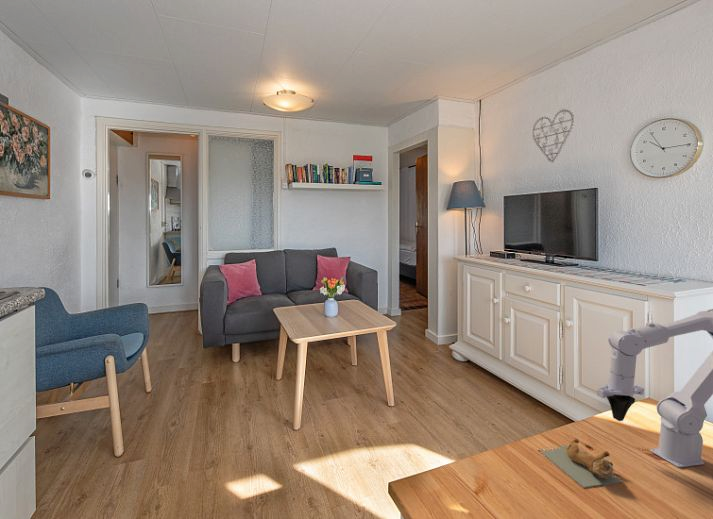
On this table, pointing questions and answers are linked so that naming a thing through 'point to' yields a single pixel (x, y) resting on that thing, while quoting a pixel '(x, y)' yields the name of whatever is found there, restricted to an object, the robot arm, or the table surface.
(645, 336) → the robot arm
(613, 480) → the mat
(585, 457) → the lion figurine
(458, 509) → the table surface
